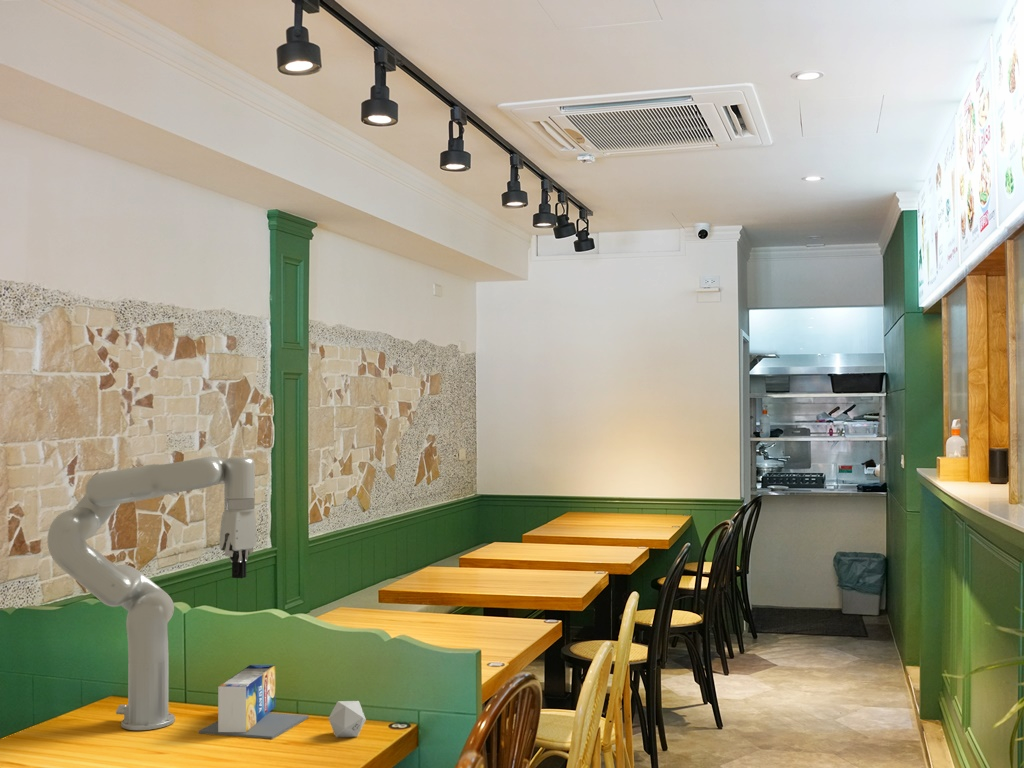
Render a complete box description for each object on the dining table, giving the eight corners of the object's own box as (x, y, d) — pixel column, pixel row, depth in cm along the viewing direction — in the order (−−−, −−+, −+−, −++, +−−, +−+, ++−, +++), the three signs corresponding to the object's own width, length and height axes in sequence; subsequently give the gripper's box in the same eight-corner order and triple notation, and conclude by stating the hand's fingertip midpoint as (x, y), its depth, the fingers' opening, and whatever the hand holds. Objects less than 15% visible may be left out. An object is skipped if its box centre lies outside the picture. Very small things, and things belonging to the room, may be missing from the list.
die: (348, 746, 231) (371, 708, 234) (317, 726, 233) (341, 689, 236) (353, 748, 238) (375, 712, 242) (323, 729, 240) (346, 693, 244)
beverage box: (218, 686, 239) (249, 664, 261) (218, 732, 239) (249, 707, 260) (246, 686, 239) (275, 664, 260) (245, 733, 238) (275, 707, 260)
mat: (198, 733, 240) (198, 730, 240) (238, 712, 258) (238, 710, 258) (272, 739, 235) (272, 736, 235) (308, 717, 252) (308, 715, 252)
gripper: (244, 503, 263) (243, 573, 263) (209, 507, 249) (208, 581, 248) (268, 503, 261) (268, 574, 260) (234, 507, 247) (233, 582, 246)
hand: (239, 577), depth 254 cm, fingers closed
